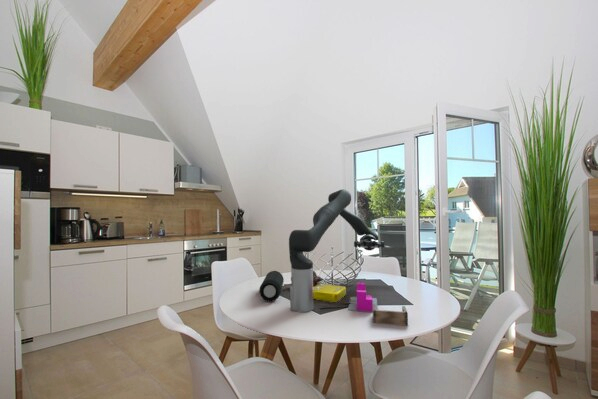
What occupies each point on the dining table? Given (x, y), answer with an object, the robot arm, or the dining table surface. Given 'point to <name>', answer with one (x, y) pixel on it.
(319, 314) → the dining table surface
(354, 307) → the slate mat
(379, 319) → the walnut bracket
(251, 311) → the dining table surface
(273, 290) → the portable speaker
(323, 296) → the element tile
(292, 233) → the robot arm
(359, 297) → the toy block
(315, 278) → the pine cone
